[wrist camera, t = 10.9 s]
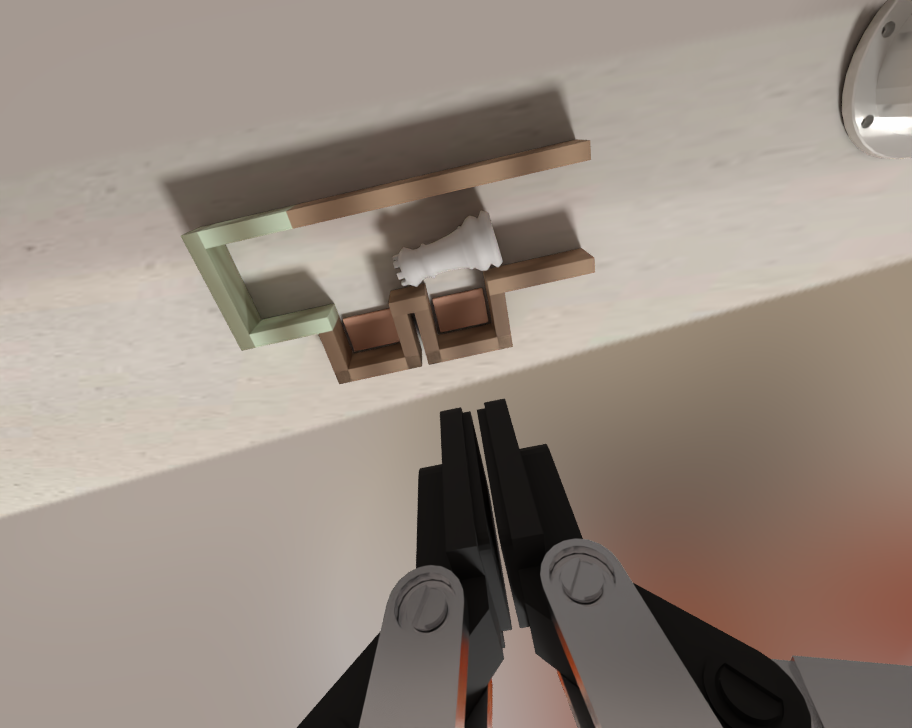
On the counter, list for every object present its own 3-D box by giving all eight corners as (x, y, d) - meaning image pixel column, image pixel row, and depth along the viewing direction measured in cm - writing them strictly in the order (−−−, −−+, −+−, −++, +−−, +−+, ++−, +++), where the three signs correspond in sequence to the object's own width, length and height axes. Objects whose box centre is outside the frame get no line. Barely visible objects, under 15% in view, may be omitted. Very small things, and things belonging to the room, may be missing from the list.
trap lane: (575, 139, 31) (590, 140, 28) (584, 314, 38) (596, 328, 35) (200, 227, 32) (180, 235, 29) (277, 381, 39) (267, 399, 36)
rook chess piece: (490, 219, 34) (400, 251, 35) (484, 199, 30) (381, 236, 31) (505, 271, 34) (414, 301, 35) (502, 258, 29) (398, 293, 31)
